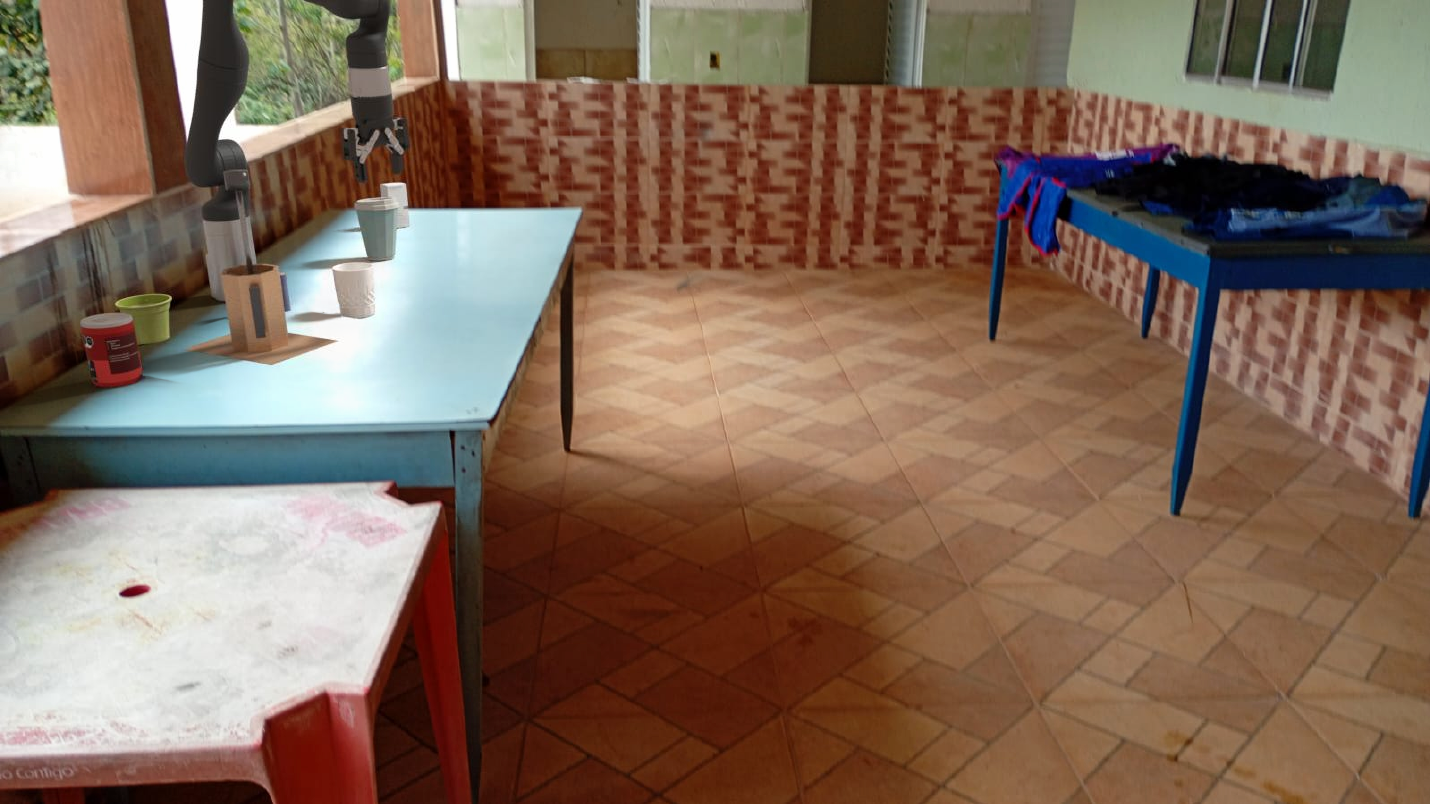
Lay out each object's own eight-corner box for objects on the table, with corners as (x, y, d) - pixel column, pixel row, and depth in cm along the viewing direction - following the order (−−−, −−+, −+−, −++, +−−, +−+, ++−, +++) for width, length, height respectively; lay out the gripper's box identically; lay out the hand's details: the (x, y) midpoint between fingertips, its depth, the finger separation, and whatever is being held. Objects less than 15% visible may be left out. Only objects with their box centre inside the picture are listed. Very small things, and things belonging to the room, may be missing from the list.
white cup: (366, 320, 228) (361, 271, 224) (330, 318, 229) (324, 270, 226) (385, 310, 235) (379, 263, 232) (350, 308, 237) (344, 261, 233)
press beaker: (219, 349, 206) (207, 273, 201) (262, 335, 214) (251, 262, 209) (263, 356, 201) (251, 279, 196) (305, 342, 210) (295, 267, 205)
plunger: (227, 300, 204) (207, 172, 196) (255, 292, 209) (237, 167, 202) (253, 304, 201) (234, 174, 193) (281, 296, 207) (263, 169, 199)
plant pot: (143, 355, 207) (134, 309, 204) (113, 347, 211) (104, 302, 208) (189, 342, 214) (182, 297, 211) (159, 335, 219) (151, 291, 216)
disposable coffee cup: (350, 261, 279) (343, 199, 274) (378, 252, 288) (372, 192, 283) (386, 264, 275) (379, 202, 270) (413, 255, 285) (407, 195, 279)
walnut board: (183, 355, 206) (182, 348, 206) (253, 332, 220) (252, 326, 219) (272, 371, 197) (271, 364, 197) (339, 346, 211) (338, 340, 210)
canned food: (103, 374, 196) (91, 313, 193) (151, 373, 197) (139, 311, 193) (83, 389, 189) (70, 325, 185) (133, 387, 190) (121, 323, 186)
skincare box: (391, 229, 316) (386, 185, 312) (383, 227, 319) (378, 184, 315) (411, 226, 320) (406, 183, 316) (402, 224, 323) (398, 181, 319)
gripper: (386, 84, 218) (395, 168, 225) (326, 94, 207) (337, 182, 214) (413, 88, 214) (422, 173, 221) (353, 99, 203) (364, 188, 210)
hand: (380, 177), depth 218 cm, fingers open, 8 cm apart
